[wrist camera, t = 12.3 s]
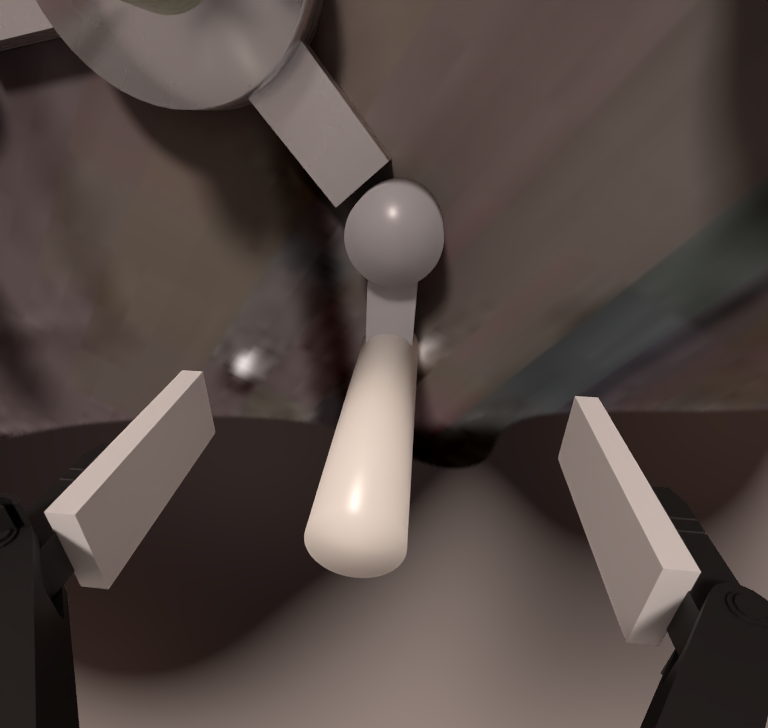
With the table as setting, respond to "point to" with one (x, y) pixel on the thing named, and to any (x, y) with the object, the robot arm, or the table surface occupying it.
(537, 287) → the table surface
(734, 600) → the robot arm
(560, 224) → the table surface
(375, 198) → the knob
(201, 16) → the levelling base
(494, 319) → the table surface
